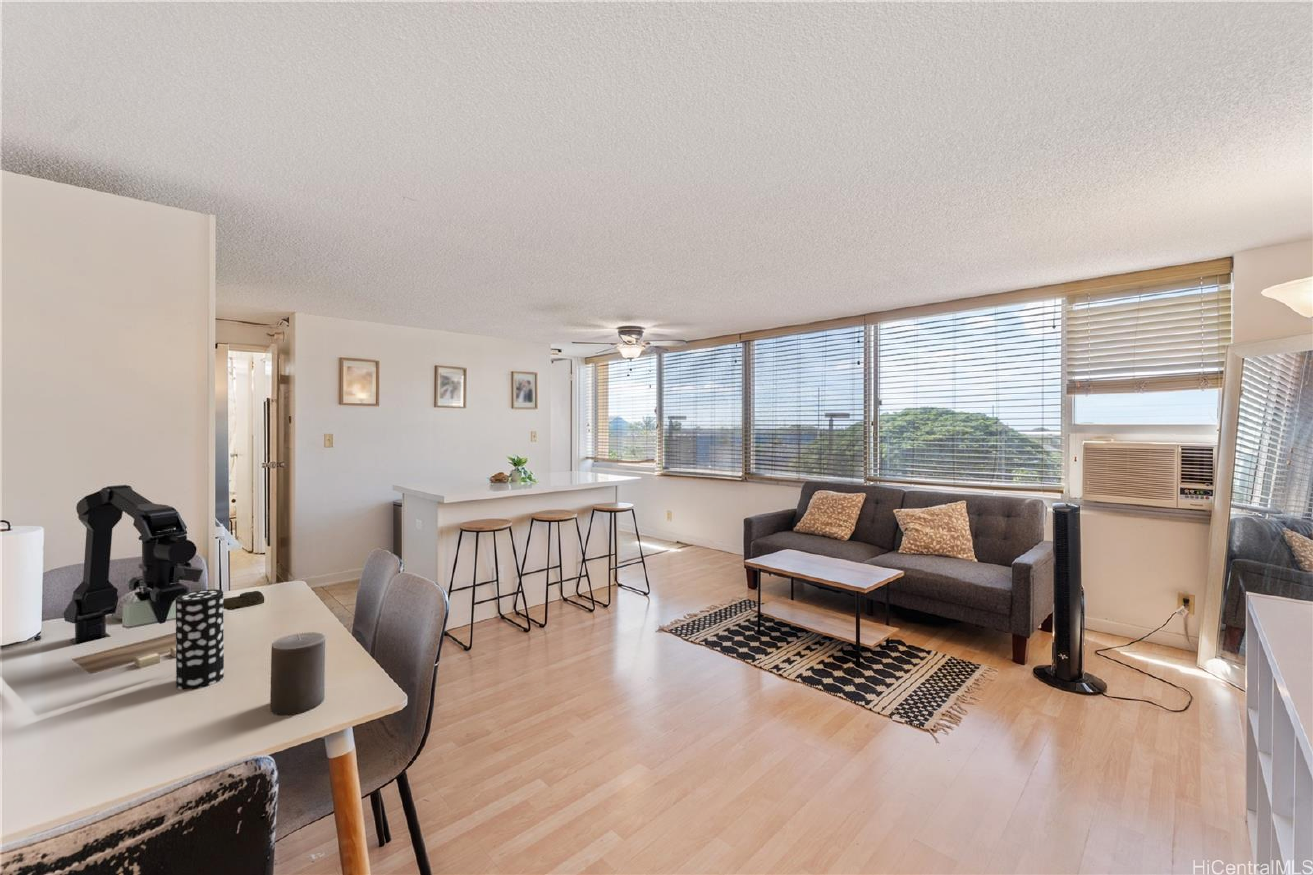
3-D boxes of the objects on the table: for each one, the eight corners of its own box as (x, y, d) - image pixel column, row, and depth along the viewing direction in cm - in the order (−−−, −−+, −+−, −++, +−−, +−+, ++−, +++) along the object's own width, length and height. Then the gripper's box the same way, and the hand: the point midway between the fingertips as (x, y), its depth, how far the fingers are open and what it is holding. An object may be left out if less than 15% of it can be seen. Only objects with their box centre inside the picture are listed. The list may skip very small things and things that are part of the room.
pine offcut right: (170, 647, 134) (175, 650, 132) (188, 642, 137) (193, 645, 135) (170, 661, 134) (176, 664, 132) (188, 656, 137) (193, 659, 135)
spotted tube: (232, 676, 126) (231, 591, 126) (191, 692, 119) (191, 603, 118) (208, 670, 129) (207, 587, 128) (167, 686, 121) (166, 598, 121)
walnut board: (72, 665, 130) (72, 659, 130) (195, 632, 151) (195, 627, 151) (91, 680, 123) (91, 673, 123) (218, 643, 144) (217, 638, 144)
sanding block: (122, 627, 129) (122, 603, 130) (185, 615, 139) (185, 593, 140) (128, 628, 127) (129, 604, 128) (191, 616, 137) (192, 594, 138)
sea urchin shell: (136, 608, 170) (135, 583, 169) (183, 607, 171) (182, 582, 171) (97, 624, 157) (97, 596, 156) (148, 622, 158) (148, 595, 158)
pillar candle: (283, 720, 108) (284, 647, 108) (261, 706, 113) (262, 635, 113) (334, 700, 116) (335, 632, 116) (311, 688, 122) (312, 622, 121)
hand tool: (186, 618, 162) (186, 603, 162) (187, 614, 165) (187, 599, 165) (264, 606, 174) (264, 592, 174) (263, 602, 177) (263, 588, 177)
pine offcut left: (134, 657, 128) (140, 660, 126) (154, 651, 131) (159, 655, 129) (134, 671, 128) (140, 675, 126) (154, 665, 131) (159, 669, 129)
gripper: (214, 557, 135) (214, 619, 136) (183, 547, 145) (184, 605, 145) (156, 567, 126) (156, 633, 126) (127, 556, 135) (128, 617, 136)
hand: (158, 621), depth 133 cm, fingers closed on sanding block, 4 cm apart
